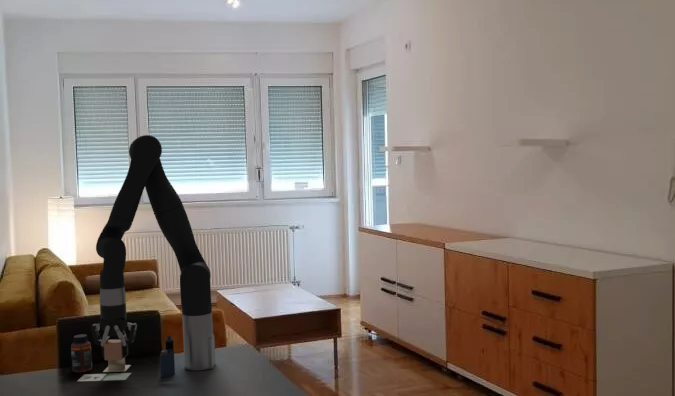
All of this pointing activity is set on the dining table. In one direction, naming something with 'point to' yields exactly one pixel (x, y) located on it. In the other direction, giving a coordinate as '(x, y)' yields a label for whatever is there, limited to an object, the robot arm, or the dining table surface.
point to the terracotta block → (113, 350)
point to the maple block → (116, 365)
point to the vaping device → (167, 359)
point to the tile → (118, 370)
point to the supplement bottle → (81, 354)
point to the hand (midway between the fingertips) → (115, 357)
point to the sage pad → (116, 376)
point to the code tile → (92, 377)
